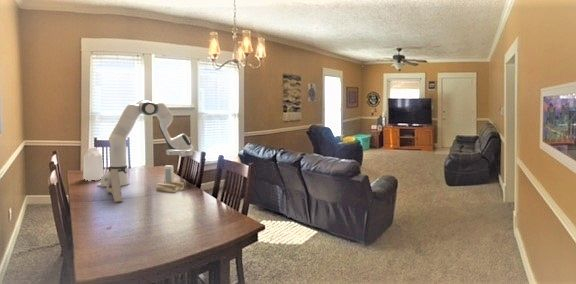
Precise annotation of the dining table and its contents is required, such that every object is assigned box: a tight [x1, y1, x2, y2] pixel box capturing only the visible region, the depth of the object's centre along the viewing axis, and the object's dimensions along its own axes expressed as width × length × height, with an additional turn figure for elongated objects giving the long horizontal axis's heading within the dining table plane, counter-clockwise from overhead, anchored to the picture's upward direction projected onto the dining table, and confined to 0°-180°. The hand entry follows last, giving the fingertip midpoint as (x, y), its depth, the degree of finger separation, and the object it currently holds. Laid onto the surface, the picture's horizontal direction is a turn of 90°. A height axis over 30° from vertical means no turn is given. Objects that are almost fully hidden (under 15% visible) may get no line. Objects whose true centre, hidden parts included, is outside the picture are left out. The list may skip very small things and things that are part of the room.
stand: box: [155, 180, 185, 193], centre depth 288 cm, size 11×16×4 cm
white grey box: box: [163, 164, 175, 182], centre depth 301 cm, size 4×6×15 cm
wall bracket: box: [106, 169, 123, 204], centre depth 267 cm, size 22×4×30 cm
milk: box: [82, 146, 105, 182], centre depth 326 cm, size 12×12×26 cm
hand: (175, 153), depth 311 cm, fingers open, 8 cm apart
